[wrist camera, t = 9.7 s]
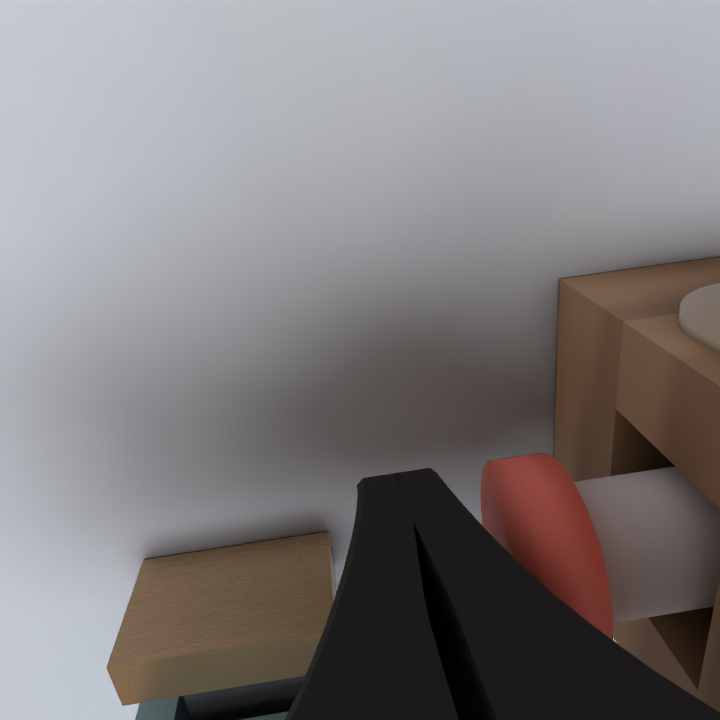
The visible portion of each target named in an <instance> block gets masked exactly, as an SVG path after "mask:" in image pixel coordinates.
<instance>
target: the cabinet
mask: <svg viewBox="0 0 720 720" xmlns="http://www.w3.org/2000/svg"><path fill="white" fill-rule="evenodd" d="M554 458H555V459H556V460H557V461H558V462H559V463H561V465H562V466H563V467H564V468H565V470H566V471H567V472H568V474H569V475H570V477H571V478H572V480H573V482H577V481H583V480H590V479H596V478H603V477H609V476H616V475H622V474H629V473H635V472H642V471H648V470H655V469H661V468H667V467H674V466H676V467H677V468H678V469H679V470H680V471H681V472H682V473H683V474H684V475H685V476H686V477H687V478H688V479H689V480H690V481H691V482H692V483H693V484H694V485H695V486H697V487H698V488H699V489H700V490H701V491H702V492H703V493H704V494H705V495H706V496H707V497H708V498H709V499H710V500H711V501H712V502H713V503H714V504H715V505H716V506H717V507H718V508H719V509H720V257H713V258H706V259H699V260H692V261H685V262H677V263H670V264H663V265H656V266H649V267H642V268H634V269H627V270H620V271H613V272H606V273H598V274H591V275H584V276H577V277H570V278H562V279H560V280H559V311H558V343H557V374H556V405H555V437H554ZM613 637H614V639H615V640H616V642H617V644H618V645H620V646H621V647H623V648H624V649H625V650H627V651H628V652H630V653H631V654H632V655H634V656H635V657H637V658H638V659H639V660H641V661H642V662H643V663H645V664H646V665H648V666H649V667H650V668H652V669H653V670H655V671H656V672H658V673H659V674H661V675H662V676H664V677H665V678H667V679H668V680H670V681H671V682H673V683H675V684H676V685H678V686H679V687H681V688H682V689H684V690H685V691H687V692H689V693H690V694H692V695H693V696H695V697H696V698H698V699H699V700H701V701H703V702H704V703H706V704H707V705H709V706H710V707H712V708H713V709H715V710H717V711H718V712H720V578H719V583H718V588H717V594H716V599H715V604H714V607H708V608H702V609H695V610H689V611H683V612H677V613H671V614H665V615H659V616H653V617H647V618H641V619H635V620H629V621H623V622H617V623H613Z"/></svg>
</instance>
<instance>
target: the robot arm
mask: <svg viewBox="0 0 720 720" xmlns="http://www.w3.org/2000/svg"><path fill="white" fill-rule="evenodd" d="M357 490H358V499H357V510H356V517H355V523H354V528H353V534H352V538H351V542H350V546H349V550H348V554H347V558H346V562H345V566H344V570H343V574H342V577H341V580H340V584H339V587H338V590H337V592H336V595H335V598H334V601H333V604H332V607H331V610H330V613H329V616H328V619H327V622H326V625H325V628H324V631H323V633H322V636H321V638H320V641H319V643H318V646H317V649H316V651H315V653H314V656H313V658H312V661H311V663H310V666H309V668H308V670H307V672H306V675H305V677H304V679H303V682H302V684H301V686H300V689H299V691H298V693H297V695H296V697H295V699H294V701H293V703H292V706H291V708H290V710H289V712H288V714H287V716H286V718H285V720H720V712H718V711H717V710H715V709H713V708H712V707H710V706H709V705H707V704H706V703H704V702H703V701H701V700H699V699H698V698H696V697H695V696H693V695H692V694H690V693H689V692H687V691H685V690H684V689H682V688H681V687H679V686H678V685H676V684H675V683H673V682H671V681H670V680H668V679H667V678H665V677H664V676H662V675H661V674H659V673H658V672H656V671H655V670H653V669H652V668H650V667H649V666H648V665H646V664H645V663H643V662H642V661H641V660H639V659H638V658H637V657H635V656H634V655H632V654H631V653H630V652H628V651H627V650H625V649H624V648H623V647H621V646H620V645H618V644H617V643H616V642H614V641H613V640H612V639H610V638H609V637H608V636H606V635H605V634H604V633H603V632H601V631H600V630H599V629H597V628H596V627H595V626H593V625H592V624H591V623H589V622H588V621H587V620H586V619H584V618H583V617H582V616H581V615H579V614H578V613H577V612H576V611H574V610H573V609H572V608H571V607H569V606H568V605H567V604H566V603H565V602H563V601H562V600H561V599H560V598H559V597H558V596H556V595H555V594H554V593H553V592H552V591H551V590H549V589H548V588H547V587H546V586H545V585H544V584H543V583H541V582H540V581H539V580H538V579H537V578H536V577H535V576H534V575H532V574H531V573H530V572H529V571H528V570H527V569H526V568H525V567H524V566H523V565H522V564H520V563H519V562H518V561H517V560H516V559H515V558H514V557H513V556H512V555H511V554H510V553H509V552H508V551H507V550H506V549H505V548H504V547H503V546H502V545H501V544H500V543H499V542H498V541H497V540H496V539H495V538H494V537H493V536H492V535H491V534H490V533H489V532H488V531H487V530H486V529H485V528H484V527H483V526H482V525H481V524H480V523H479V522H478V521H477V520H476V519H475V518H474V516H473V515H472V514H471V513H470V512H469V511H468V510H467V509H466V508H465V506H464V505H463V504H462V503H461V502H460V501H459V500H458V499H457V497H456V496H455V495H454V494H453V493H452V492H451V490H450V489H449V488H448V487H447V485H446V484H445V483H444V482H443V480H442V479H441V478H440V477H439V475H438V474H437V473H436V472H435V471H433V470H432V469H431V468H427V469H420V470H414V471H407V472H401V473H394V474H387V475H381V476H374V477H368V478H363V479H362V480H361V481H360V482H359V484H358V485H357Z"/></svg>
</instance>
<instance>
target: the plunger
mask: <svg viewBox="0 0 720 720" xmlns="http://www.w3.org/2000/svg"><path fill="white" fill-rule="evenodd" d="M481 511H482V522H483V527H484V528H485V529H486V530H487V531H488V532H489V533H490V534H491V535H492V536H493V537H494V538H495V539H496V540H497V541H498V542H499V543H500V544H501V545H502V546H503V547H504V548H505V549H506V550H507V551H508V552H509V553H510V554H511V555H512V556H513V557H514V558H515V559H516V560H517V561H518V562H519V563H520V564H522V565H523V566H524V567H525V568H526V569H527V570H528V571H529V572H530V573H531V574H532V575H534V576H535V577H536V578H537V579H538V580H539V581H540V582H541V583H543V584H544V585H545V586H546V587H547V588H548V589H549V590H551V591H552V592H553V593H554V594H555V595H556V596H558V597H559V598H560V599H561V600H562V601H563V602H565V603H566V604H567V605H568V606H569V607H571V608H572V609H573V610H574V611H576V612H577V613H578V614H579V615H581V616H582V617H583V618H584V619H586V620H587V621H588V622H589V623H591V624H592V625H593V626H595V627H596V628H597V629H599V630H600V631H601V632H603V633H604V634H605V635H606V636H608V637H609V638H610V639H612V640H613V623H617V622H623V621H629V620H635V619H641V618H647V617H653V616H659V615H665V614H671V613H677V612H683V611H689V610H695V609H702V608H708V607H714V604H715V599H716V594H717V588H718V583H719V578H720V509H719V508H718V507H717V506H716V505H715V504H714V503H713V502H712V501H711V500H710V499H709V498H708V497H707V496H706V495H705V494H704V493H703V492H702V491H701V490H700V489H699V488H698V487H697V486H695V485H694V484H693V483H692V482H691V481H690V480H689V479H688V478H687V477H686V476H685V475H684V474H683V473H682V472H681V471H680V470H679V469H678V468H677V467H676V466H674V467H667V468H661V469H655V470H648V471H642V472H635V473H629V474H622V475H616V476H609V477H603V478H596V479H590V480H583V481H577V482H573V480H572V478H571V477H570V475H569V474H568V472H567V471H566V470H565V468H564V467H563V466H562V465H561V463H559V462H558V461H557V460H556V459H555V458H554V457H553V456H551V455H549V454H546V453H538V454H531V455H525V456H518V457H512V458H505V459H499V460H492V461H489V462H487V463H486V465H485V467H484V469H483V473H482V479H481Z"/></svg>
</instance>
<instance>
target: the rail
mask: <svg viewBox="0 0 720 720" xmlns="http://www.w3.org/2000/svg"><path fill="white" fill-rule="evenodd" d="M335 595H336V583H335V570H334V562H333V556H332V550H331V545H330V539H329V533H328V532H321V533H315V534H308V535H302V536H296V537H289V538H283V539H276V540H270V541H263V542H257V543H250V544H244V545H238V546H231V547H225V548H218V549H212V550H205V551H199V552H192V553H186V554H180V555H173V556H167V557H160V558H154V559H147V560H143V562H142V565H141V568H140V571H139V574H138V577H137V580H136V583H135V586H134V589H133V592H132V595H131V597H130V600H129V603H128V606H127V609H126V612H125V615H124V618H123V621H122V624H121V627H120V630H119V633H118V636H117V638H116V641H115V644H114V647H113V650H112V653H111V656H110V659H109V662H108V665H107V670H108V673H109V675H110V677H111V680H112V682H113V684H114V687H115V689H116V691H117V694H118V696H119V698H120V701H121V703H122V705H123V706H124V705H130V704H136V703H142V702H148V701H154V700H160V699H166V698H173V697H179V696H184V699H185V702H186V705H187V708H188V710H189V713H190V716H191V719H192V720H241V719H246V718H252V717H258V716H264V715H270V714H276V713H282V712H288V711H289V710H290V708H291V706H292V703H293V701H294V699H295V697H296V695H297V693H298V691H299V689H300V686H301V684H302V682H303V679H304V677H305V675H306V672H307V670H308V668H309V666H310V663H311V661H312V658H313V656H314V653H315V651H316V649H317V646H318V643H319V641H320V638H321V636H322V633H323V631H324V628H325V625H326V622H327V619H328V616H329V613H330V610H331V607H332V604H333V601H334V598H335Z"/></svg>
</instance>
